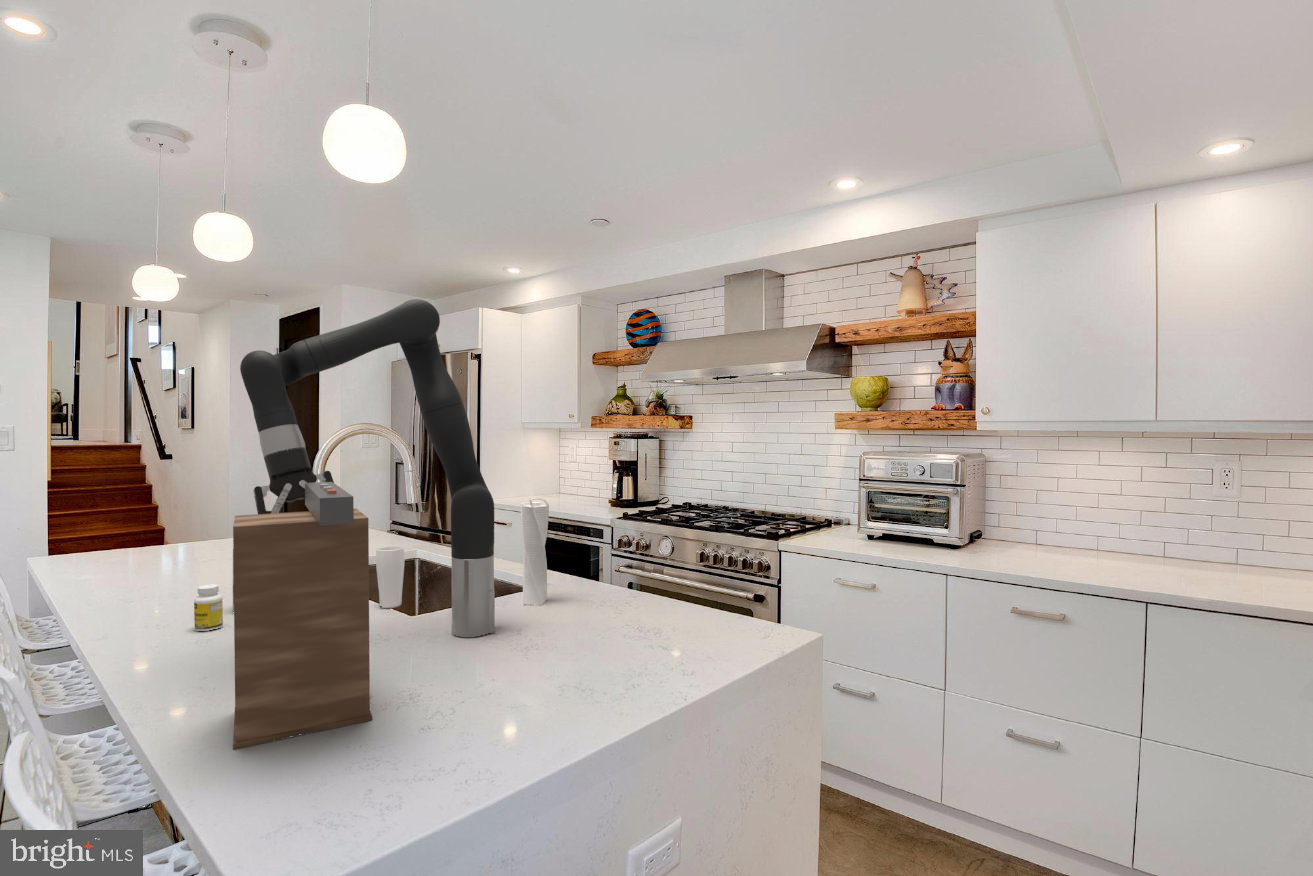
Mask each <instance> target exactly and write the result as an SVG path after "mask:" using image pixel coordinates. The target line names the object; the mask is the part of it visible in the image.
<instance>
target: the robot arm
mask: <svg viewBox="0 0 1313 876" xmlns="http://www.w3.org/2000/svg"><path fill="white" fill-rule="evenodd" d="M440 323H441V319H440V314H439V312H438V310H437V308H436V307H435V306H434V305H433V304H432V303H430V302H429V301H427V300H423V299H419V298H415V299H409V300H407V301H404V302H403V303H401V304H399V305H397V306H395V307H394V308H392V309H390V310H388V311H386V312H384V313H381V314H379V315H377V316H374V317H372V318H370V319H367V320H364V321H361V322H358V323H356V324H353V325H349V326H345V327H342V328H338V329H335V330H332V331H328V332H326V333H322V334H318V335H315V336H312V337H308V338H305V339H301V340H300V341H297V342H295V343H293V344H291V346H290V347H289V348H288V349H286V350H284V351H281V352H278V353H275V354H272V353H271V352H270V351H266V350H254V351H250V352H249V353H247V354H246V355H245V356H243V358H242V360H241V362H240V365H239V366H240V367H239V368H240V369H239V370H240V375H241V378H242V382H243V384H244V387H245V390H246V393H247V395H248V398H249V400H250V403H251V407H252V412H253V416H254V421H255V425H256V428H257V432H258V437H259V445H260V449H261V453H262V456H263V459H264V463H265V467H266V471H267V475H268V478H269V479H268V480H269V485H263V486H260V485H259V486H258V485H257V486H255V487H254V488H253V489H252V490H253V496H254V500H255V507H256V510H257V511H256V512H257V514H272V513H280V511H281V509H282V507H283V505H284V504H285V503H292V502H295V501H296V500H305V483H316V482H317V481H319V482H333V483H334V484H335V482H334V478H333V476H332V473H331V471H330V470H324V472H322V473H318V474H315V473H314V472H313V470H312V467H311V466H312V465H311V462H310V460H309V456H308V452H307V449H306V442H305V440H304V437H303V435H302V431H301V429H300V426H299V424H298V420H297V417H296V414H295V410H294V407H293V405H292V403H291V400H290V398H289V396H288V390H287V388H286V386H289V385H290V384H293V383H296V382H297V381H299V380H301V379H303V378H305V377H307V376H311V375H314V374H317V373H318V374H319V373H320V372H323V371H328V370H329V369H332V368H335V367H338V366H340V365H344V364H346V363H348V362H350V361H352V360H355V359H357V358H360V357H361V356H364V355H366V354H368V353H371V352H373V351H375V350H378V349H381V348H384V347H386V346H391V345H395V344H399V345H400V347H401V350H402V352H403V355H404V357H405V359H406V362H407V364H408V366H409V369H410V372H411V377H412V382H413V387H414V391H415V396H416V399H417V402H418V406H419V411H420V414H421V417H422V420H423V423H424V426H425V429H426V430H425V431H426V432H427V434H428V437H429V440H430V442H431V444H432V447H433V449H434V450H435V452H436V454H437V456H438V458H439V461H440V462H441V465H442V466H443V469H444V472H445V475H446V479H447V483H448V488H449V493H450V494H449V495H450V499H451V500H450V501H451V502H450V546H451V634H452V633H453V634H452V635H453V636H455V635H456V636H455V637H459V636H460V638H476V636H478V637H480V636H479V635H483V636H486V635H485V634H487V635H489V634H488V633H491V634H496V633H495V632H496V631H495V630H496V628H495V627H496V626H495V625H496V624H495V623H496V620H495V615H496V612H495V611H496V610H495V609H496V608H495V607H496V606H495V605H496V604H495V603H496V601H495V600H496V599H495V598H496V597H495V596H496V595H495V571H494V570H495V565H494V563H495V560H494V559H495V556H494V555H495V503H494V498H493V495H492V493H491V491H490V490H489V488H488V485H487V484H486V482H485V479H484V476H483V475H482V471H481V470H480V467H479V465H478V461H477V459H476V455H475V454H476V453H475V448H474V442H473V435H472V431H471V427H470V422H469V418H468V415H467V412H466V411H467V410H466V408H465V405H464V401H463V399H462V397H461V394H460V392H459V389H458V388H457V386H456V384H455V382H454V380H453V378H452V377H451V375H450V374H449V371H448V370H447V367H446V366H445V364H444V360H443V359H442V355H441V351H440V346H439V343H438V337H437V333H438V330H439V327H440ZM269 491H270V492H271V493H272V494H274V495H275V496H276V497H277V499H276V500H275V502H274V504H273V507H272V509H271V510H267V509H266V503H265V499H264V498H265V497H267V495H268V492H269Z"/></svg>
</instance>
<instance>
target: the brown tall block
mask: <svg viewBox="0 0 1313 876" xmlns="http://www.w3.org/2000/svg"><path fill="white" fill-rule="evenodd" d="M369 535H370V534H369V517H368V516H366V515H365V514H364V513H362V512H361V511H360V510H359V509H357V508H354V523H352V524H338V525H323V526H320V525H319V524H318V522H317V521H316V519H315V518H314V517H313V515H312V514H311V512H310V511H309V510H308V511H290V512H279V513H272V514H258V513H256V514H243V515H234V520H233V526H232V536H233V537H232V538H233V539H232V540H233V541H232V542H233V543H232V544H233V545H232V546H233V547H232V559H233V558H234V613H233V620H234V621H233V622H234V624H233V627H234V629H233V631H234V633H233V635H234V637H233V638H234V720H233V722H234V723H233V735H232V736H233V738H232V750H236V748H238V749H242V747H243V748H246V746H248V747H251V746H255V744H257V745H262V744H265V742H266V743H270V741H271V742H274V741H273V740H276V741H280V740H279V739H281V740H283V739H282V738H285V739H288V738H287V737H290V736H295V737H298V736H297V735H299V734H304V735H307V734H306V733H309V734H312V733H311V732H314V733H317V732H316V731H318V732H322V730H323V731H326V730H325V729H328V730H331V729H332V728H333V729H336V728H335V727H337V728H342V727H346V726H345V725H347V726H351V725H356V724H361V723H367V722H369V721H373V714H372V711H371V708H370V707H371V706H370V704H371V702H370V700H371V697H370V695H371V694H370V693H371V691H370V689H371V688H370V687H371V686H370V675H371V674H370V565H369V563H370V562H369V561H370V559H369V558H370V556H369V555H370V554H369V551H370V550H369V548H370V547H369V541H370V540H369V537H370V536H369ZM290 738H291V737H290ZM261 743H262V744H261Z"/></svg>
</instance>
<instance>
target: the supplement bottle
mask: <svg viewBox="0 0 1313 876" xmlns="http://www.w3.org/2000/svg"><path fill="white" fill-rule="evenodd" d="M219 588H220V587H219V584H213V583H212V584H204V585H203V584H202V585H200V586H198V587H197V595H198V596H196V597H195V598H194V601H193V607H194V611H193V613H194V614H193V615H194V630H195V631H196V632H198V631H208V632H210V631H209V630H213V629H217V630H219V629H218V628H220V627H221V628H223V625H224V617H223V615H224V614H223V613H224V612H223V610H224V608H223V604H224V603H223V595H222V594H221V593H219V590H220V589H219ZM221 628H220V629H221Z"/></svg>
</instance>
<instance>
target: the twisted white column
mask: <svg viewBox="0 0 1313 876" xmlns="http://www.w3.org/2000/svg"><path fill="white" fill-rule="evenodd" d="M533 500H540V501H533ZM541 501H543V502H544V503H545V504H546V505H544V504H541ZM549 509H550V505H549V503H548V502H547V500H546V499H544V498H542V497H537V496H536V497H535V496H534V497H531V498H530V499H529V501H524V502H521V503H520V525H521V536H522V545H523V550H524V552H523V553H524V554H523V567H522V606H525V605H524V604H527V605H526V606H542V605H543V606H544V604H545V602H546V601H547V600H548V565H547V564H548V563H547V556H546V555H547V554H546V547H545V546H546V543H547V542H546V541H547V536H548V526H549V511H550V510H549ZM543 603H544V604H543ZM528 604H529V605H528ZM530 604H531V605H530ZM532 604H533V605H532ZM534 604H536V605H534ZM537 604H538V605H537Z"/></svg>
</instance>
